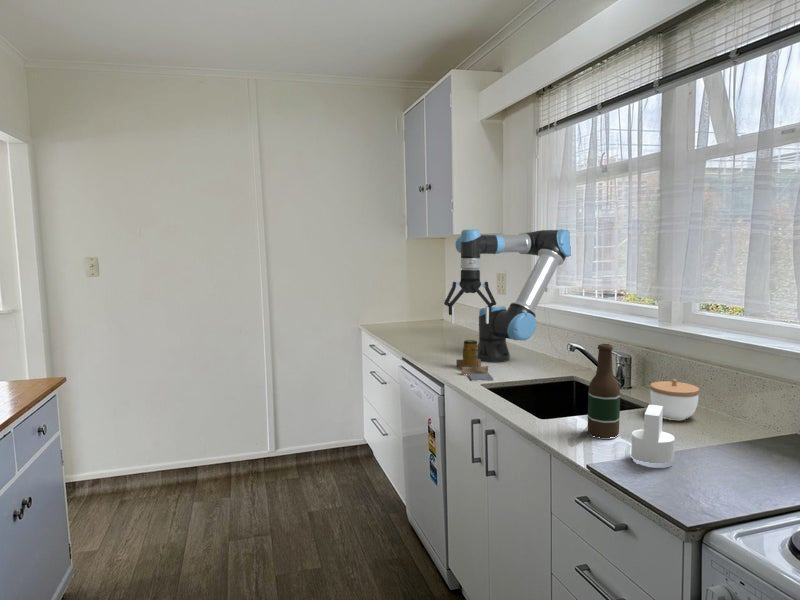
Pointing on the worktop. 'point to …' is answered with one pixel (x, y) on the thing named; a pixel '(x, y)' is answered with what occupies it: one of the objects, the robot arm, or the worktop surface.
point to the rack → (472, 368)
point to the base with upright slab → (653, 439)
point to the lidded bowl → (675, 398)
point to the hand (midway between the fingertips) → (469, 323)
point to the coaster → (480, 376)
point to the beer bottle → (604, 397)
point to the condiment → (470, 353)
